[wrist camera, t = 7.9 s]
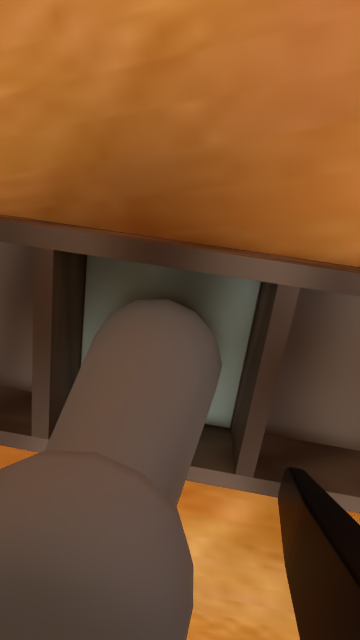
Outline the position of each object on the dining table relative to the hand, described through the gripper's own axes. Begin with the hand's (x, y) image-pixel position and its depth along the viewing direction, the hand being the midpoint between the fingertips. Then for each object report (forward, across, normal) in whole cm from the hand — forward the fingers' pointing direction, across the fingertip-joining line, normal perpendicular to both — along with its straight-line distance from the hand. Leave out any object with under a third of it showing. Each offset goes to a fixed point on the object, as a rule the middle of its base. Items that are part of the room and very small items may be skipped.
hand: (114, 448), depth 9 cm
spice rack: (+10, 0, 0) cm, 10 cm away
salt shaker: (+8, 0, 0) cm, 9 cm away
